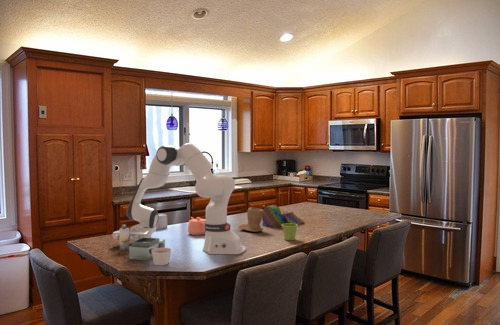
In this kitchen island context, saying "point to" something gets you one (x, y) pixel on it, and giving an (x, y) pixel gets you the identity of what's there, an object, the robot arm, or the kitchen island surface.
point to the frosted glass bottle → (124, 238)
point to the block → (279, 217)
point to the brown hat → (253, 220)
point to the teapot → (196, 226)
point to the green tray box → (144, 248)
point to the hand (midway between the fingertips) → (123, 238)
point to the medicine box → (162, 221)
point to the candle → (161, 256)
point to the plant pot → (289, 231)
